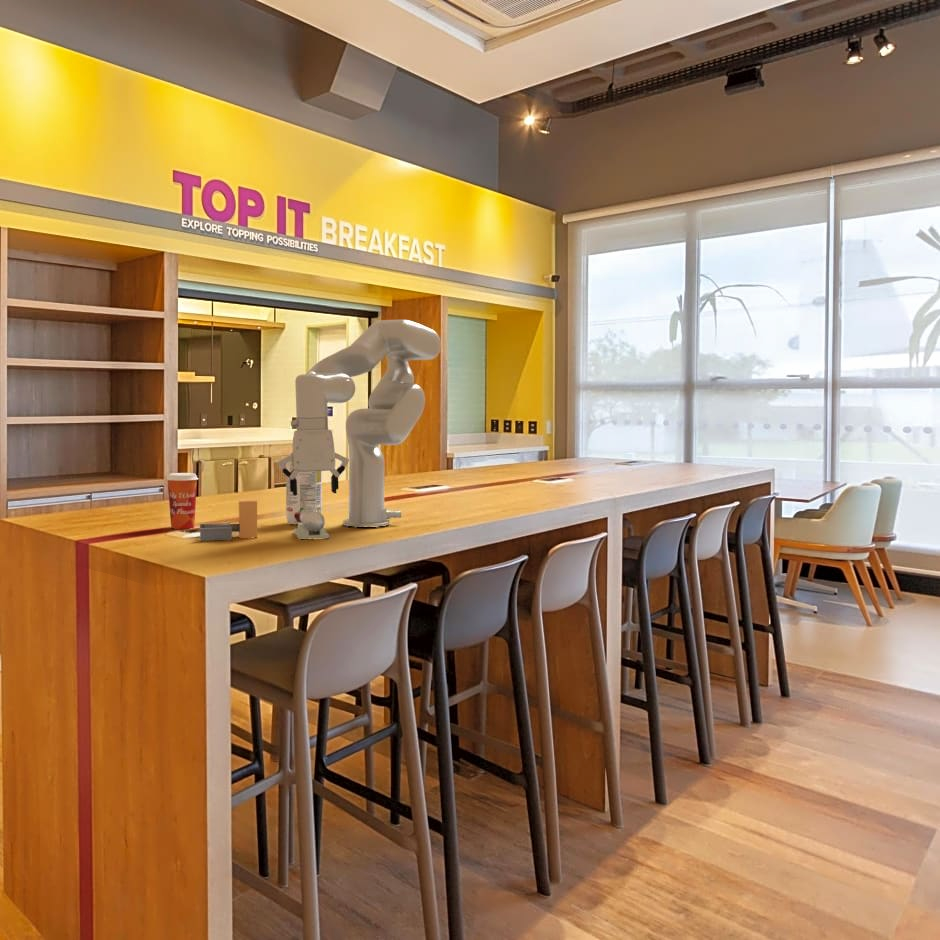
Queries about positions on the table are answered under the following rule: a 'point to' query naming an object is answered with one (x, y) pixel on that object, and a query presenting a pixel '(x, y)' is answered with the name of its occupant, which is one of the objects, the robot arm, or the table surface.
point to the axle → (312, 519)
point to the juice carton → (303, 494)
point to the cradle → (309, 533)
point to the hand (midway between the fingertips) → (314, 493)
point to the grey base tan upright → (243, 519)
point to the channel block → (215, 533)
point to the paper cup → (182, 499)
